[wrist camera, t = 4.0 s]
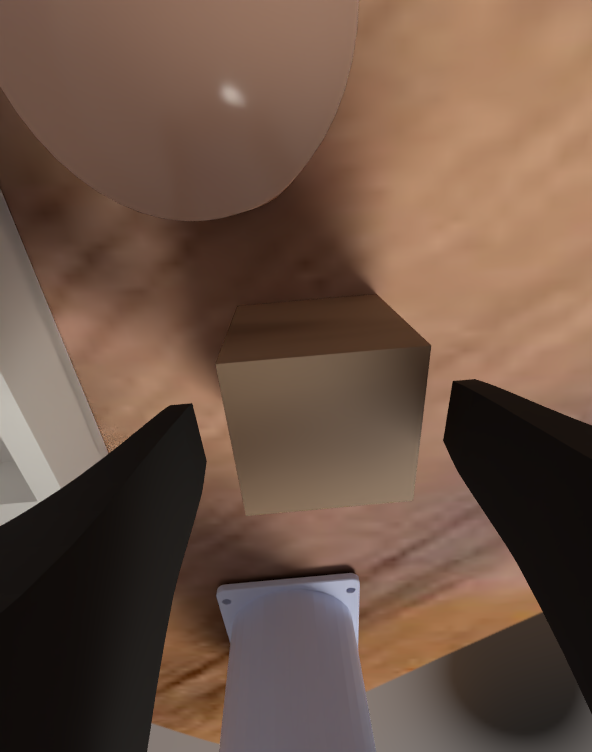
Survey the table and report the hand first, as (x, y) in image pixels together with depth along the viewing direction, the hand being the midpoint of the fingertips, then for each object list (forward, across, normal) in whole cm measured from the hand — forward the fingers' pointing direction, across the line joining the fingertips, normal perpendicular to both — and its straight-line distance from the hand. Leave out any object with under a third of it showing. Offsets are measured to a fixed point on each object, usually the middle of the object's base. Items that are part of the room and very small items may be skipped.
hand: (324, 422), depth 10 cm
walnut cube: (+4, 0, 0) cm, 4 cm away
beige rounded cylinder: (+4, +2, -8) cm, 9 cm away
